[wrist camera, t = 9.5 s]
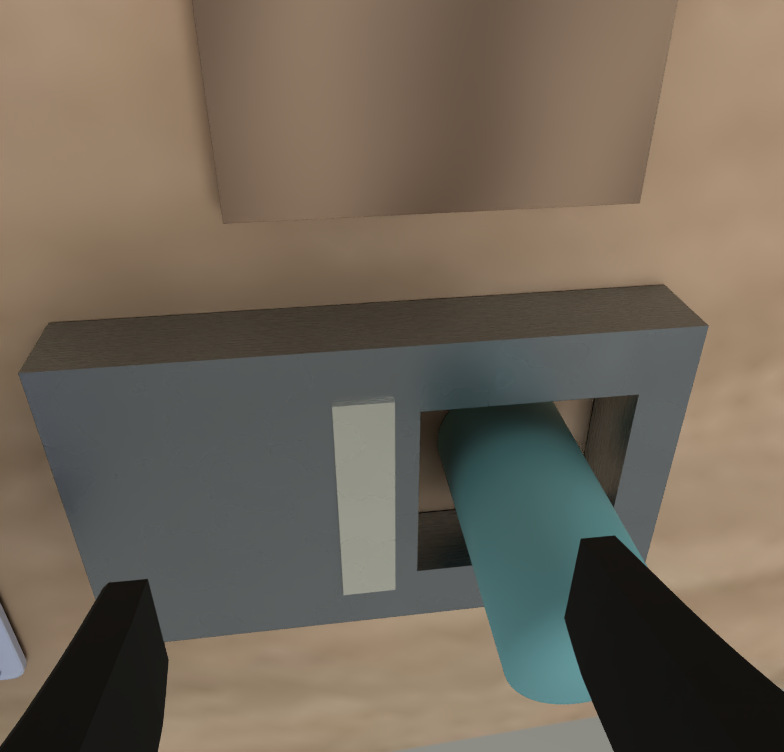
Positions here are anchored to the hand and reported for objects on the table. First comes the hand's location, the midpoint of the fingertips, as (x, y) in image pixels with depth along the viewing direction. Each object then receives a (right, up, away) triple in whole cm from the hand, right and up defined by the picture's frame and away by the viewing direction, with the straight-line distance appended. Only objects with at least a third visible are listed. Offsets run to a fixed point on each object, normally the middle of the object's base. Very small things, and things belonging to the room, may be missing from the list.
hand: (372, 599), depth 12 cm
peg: (+4, +2, +11) cm, 11 cm away
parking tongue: (+1, +11, +4) cm, 12 cm away
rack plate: (0, +2, +10) cm, 10 cm away
